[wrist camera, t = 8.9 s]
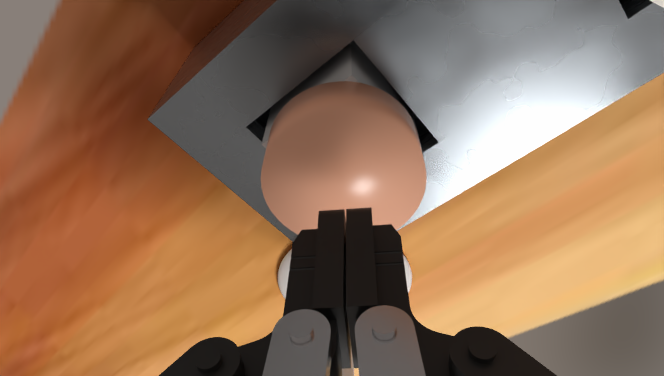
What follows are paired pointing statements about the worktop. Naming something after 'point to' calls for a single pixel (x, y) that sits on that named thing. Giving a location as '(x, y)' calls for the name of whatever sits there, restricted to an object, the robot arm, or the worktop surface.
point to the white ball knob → (658, 2)
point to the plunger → (342, 147)
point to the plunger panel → (415, 77)
